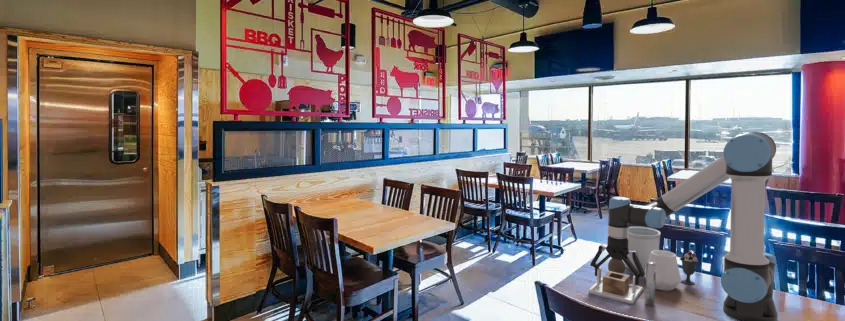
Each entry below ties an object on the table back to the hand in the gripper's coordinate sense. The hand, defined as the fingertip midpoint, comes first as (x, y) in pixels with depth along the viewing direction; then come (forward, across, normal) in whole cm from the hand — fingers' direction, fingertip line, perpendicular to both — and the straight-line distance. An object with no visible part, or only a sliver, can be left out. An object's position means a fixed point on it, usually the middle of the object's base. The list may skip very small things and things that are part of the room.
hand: (615, 288), depth 167 cm
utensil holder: (+2, -1, -35) cm, 35 cm away
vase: (+2, +5, -19) cm, 20 cm away
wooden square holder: (+1, 0, 0) cm, 1 cm away
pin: (+2, -13, +4) cm, 14 cm away
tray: (+2, 0, 0) cm, 2 cm away
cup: (+2, -13, -18) cm, 22 cm away
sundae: (+2, -21, -28) cm, 35 cm away
